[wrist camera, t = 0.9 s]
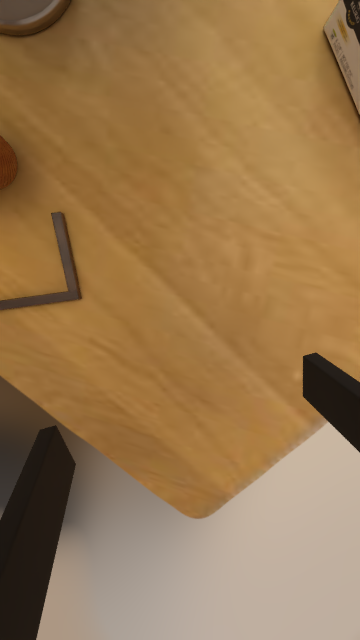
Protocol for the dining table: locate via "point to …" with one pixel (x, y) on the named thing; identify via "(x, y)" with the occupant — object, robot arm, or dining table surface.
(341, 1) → the tea box
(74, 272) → the walnut frame
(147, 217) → the dining table surface
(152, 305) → the dining table surface
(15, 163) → the disposable coffee cup
